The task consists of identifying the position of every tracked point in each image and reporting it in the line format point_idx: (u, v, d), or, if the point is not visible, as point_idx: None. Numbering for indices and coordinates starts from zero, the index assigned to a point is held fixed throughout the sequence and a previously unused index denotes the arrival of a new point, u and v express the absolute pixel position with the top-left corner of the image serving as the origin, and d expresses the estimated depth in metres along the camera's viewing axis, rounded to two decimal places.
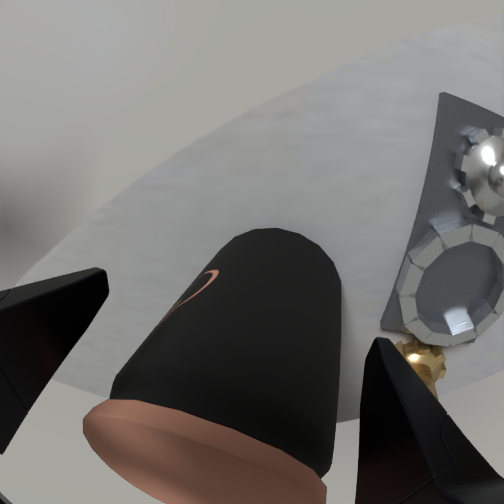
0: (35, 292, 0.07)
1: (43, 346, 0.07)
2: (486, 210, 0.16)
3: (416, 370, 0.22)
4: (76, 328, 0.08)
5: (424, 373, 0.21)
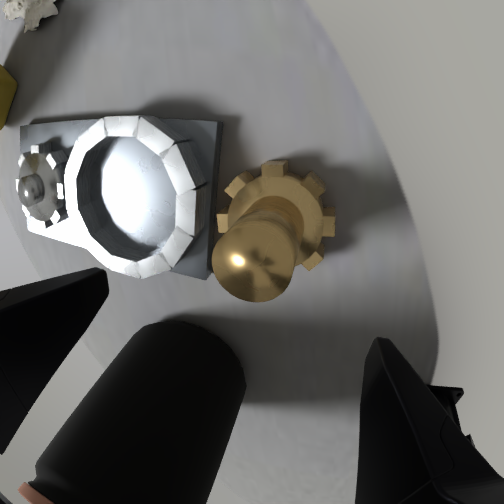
0: (35, 292, 0.07)
1: (43, 346, 0.07)
2: (55, 197, 0.19)
3: None
4: (76, 328, 0.08)
5: None
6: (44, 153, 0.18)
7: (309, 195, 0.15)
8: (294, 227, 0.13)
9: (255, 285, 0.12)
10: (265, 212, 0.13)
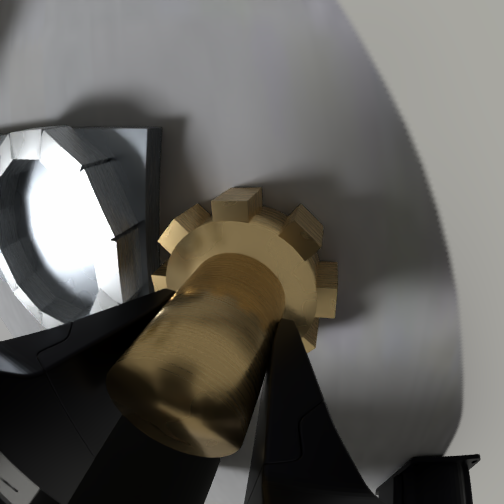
0: (107, 325, 0.06)
1: None
2: None
3: None
4: None
5: None
6: None
7: (295, 254, 0.09)
8: (259, 330, 0.07)
9: (183, 439, 0.06)
10: (200, 309, 0.07)
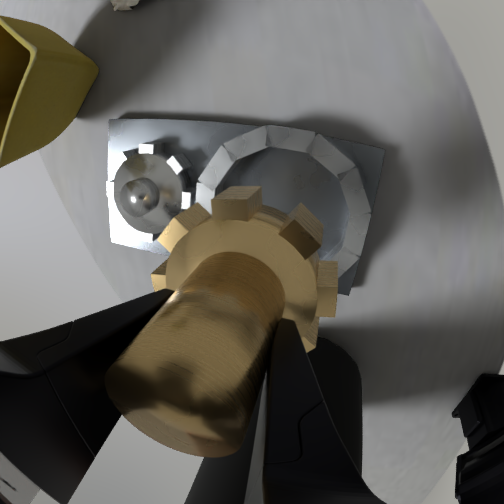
0: (107, 325, 0.06)
1: None
2: (178, 207, 0.19)
3: None
4: None
5: None
6: (159, 154, 0.18)
7: (295, 253, 0.09)
8: (259, 329, 0.07)
9: (182, 438, 0.06)
10: (200, 307, 0.07)
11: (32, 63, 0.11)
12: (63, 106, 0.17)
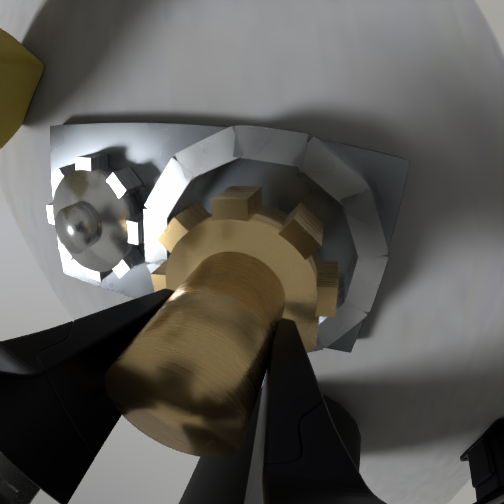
0: (107, 325, 0.06)
1: None
2: (124, 241, 0.14)
3: None
4: None
5: None
6: (100, 171, 0.13)
7: (295, 253, 0.09)
8: (259, 329, 0.07)
9: (182, 438, 0.06)
10: (200, 307, 0.07)
11: None
12: None
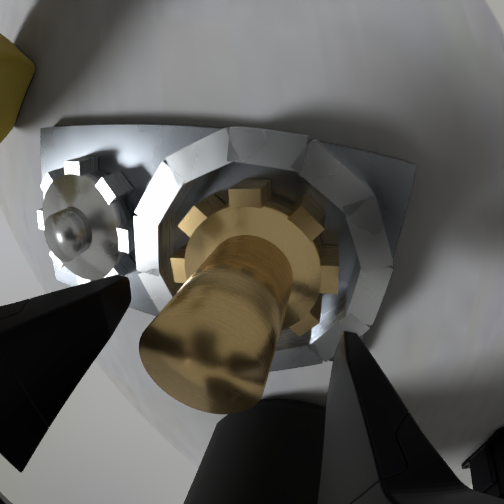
0: (57, 303, 0.07)
1: (65, 359, 0.07)
2: (114, 249, 0.13)
3: None
4: (99, 339, 0.08)
5: None
6: (89, 175, 0.12)
7: (301, 235, 0.10)
8: (273, 297, 0.08)
9: (207, 395, 0.07)
10: (225, 277, 0.08)
11: None
12: None
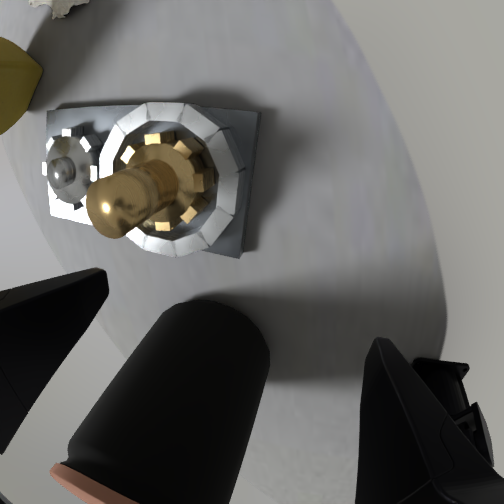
0: (35, 292, 0.07)
1: (43, 346, 0.07)
2: (88, 179, 0.20)
3: None
4: (76, 328, 0.08)
5: None
6: (76, 136, 0.19)
7: (180, 157, 0.17)
8: (152, 180, 0.15)
9: (112, 224, 0.14)
10: (128, 169, 0.15)
11: None
12: (11, 102, 0.17)
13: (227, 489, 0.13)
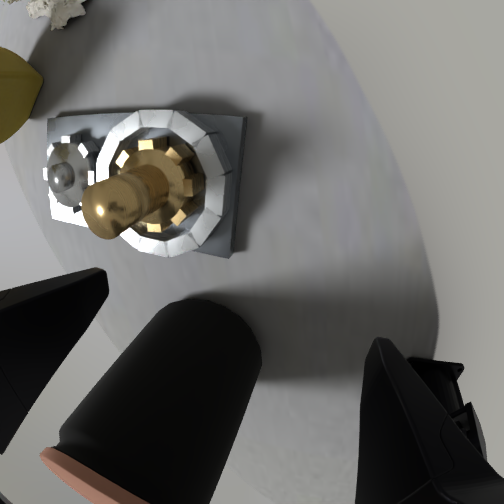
0: (35, 292, 0.07)
1: (43, 346, 0.07)
2: (86, 183, 0.21)
3: None
4: (76, 328, 0.08)
5: None
6: (75, 143, 0.20)
7: (171, 162, 0.18)
8: (143, 185, 0.16)
9: (105, 226, 0.15)
10: (121, 174, 0.16)
11: None
12: (13, 110, 0.19)
13: (210, 481, 0.14)
